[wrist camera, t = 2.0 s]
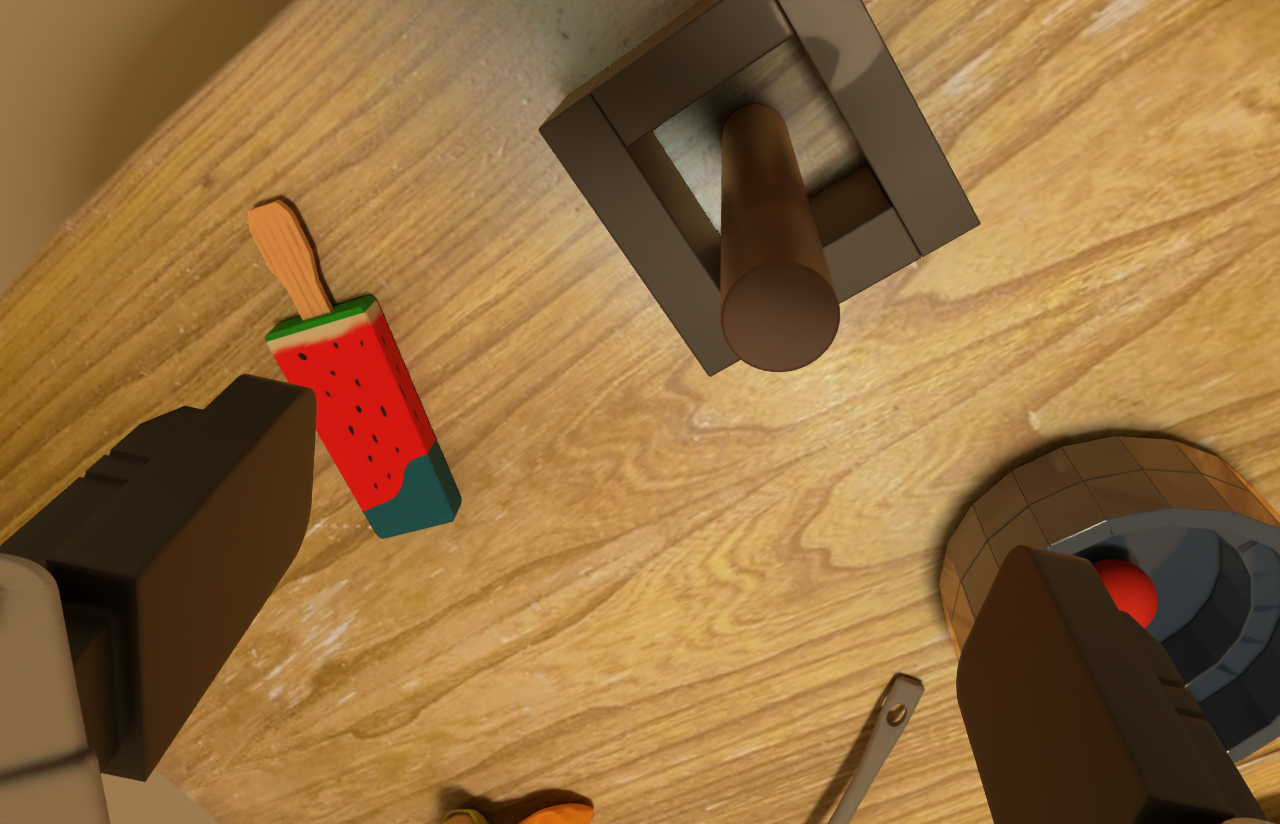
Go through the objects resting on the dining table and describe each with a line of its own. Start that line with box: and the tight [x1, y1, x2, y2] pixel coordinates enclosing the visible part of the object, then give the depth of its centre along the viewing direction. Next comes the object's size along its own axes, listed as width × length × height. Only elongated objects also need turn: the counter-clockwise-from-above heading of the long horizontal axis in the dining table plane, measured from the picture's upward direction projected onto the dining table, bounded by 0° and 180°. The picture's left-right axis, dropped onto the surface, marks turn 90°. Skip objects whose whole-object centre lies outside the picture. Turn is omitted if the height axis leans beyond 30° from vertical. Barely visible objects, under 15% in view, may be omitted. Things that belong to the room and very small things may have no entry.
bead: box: [1093, 559, 1158, 628], centre depth 41 cm, size 3×3×3 cm
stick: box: [720, 105, 840, 372], centre depth 28 cm, size 2×2×18 cm
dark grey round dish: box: [939, 436, 1280, 763], centre depth 40 cm, size 14×14×6 cm
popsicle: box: [247, 200, 461, 539], centre depth 40 cm, size 4×2×15 cm
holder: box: [539, 0, 980, 376], centre depth 33 cm, size 10×10×6 cm
